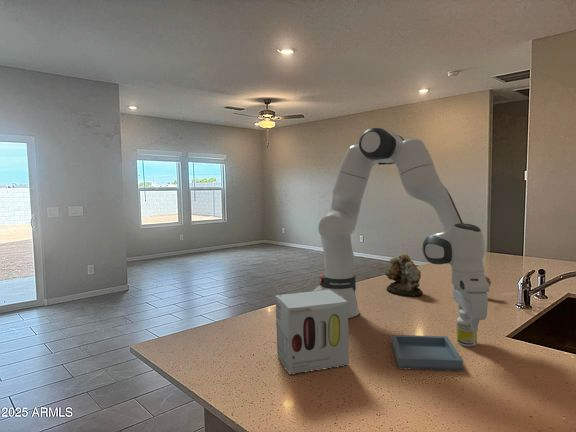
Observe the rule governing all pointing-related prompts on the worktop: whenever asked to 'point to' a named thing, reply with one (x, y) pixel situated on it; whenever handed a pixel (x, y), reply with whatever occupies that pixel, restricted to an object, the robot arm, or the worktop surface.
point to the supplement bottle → (465, 330)
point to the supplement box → (312, 330)
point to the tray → (426, 353)
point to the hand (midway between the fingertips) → (468, 324)
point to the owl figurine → (404, 277)
